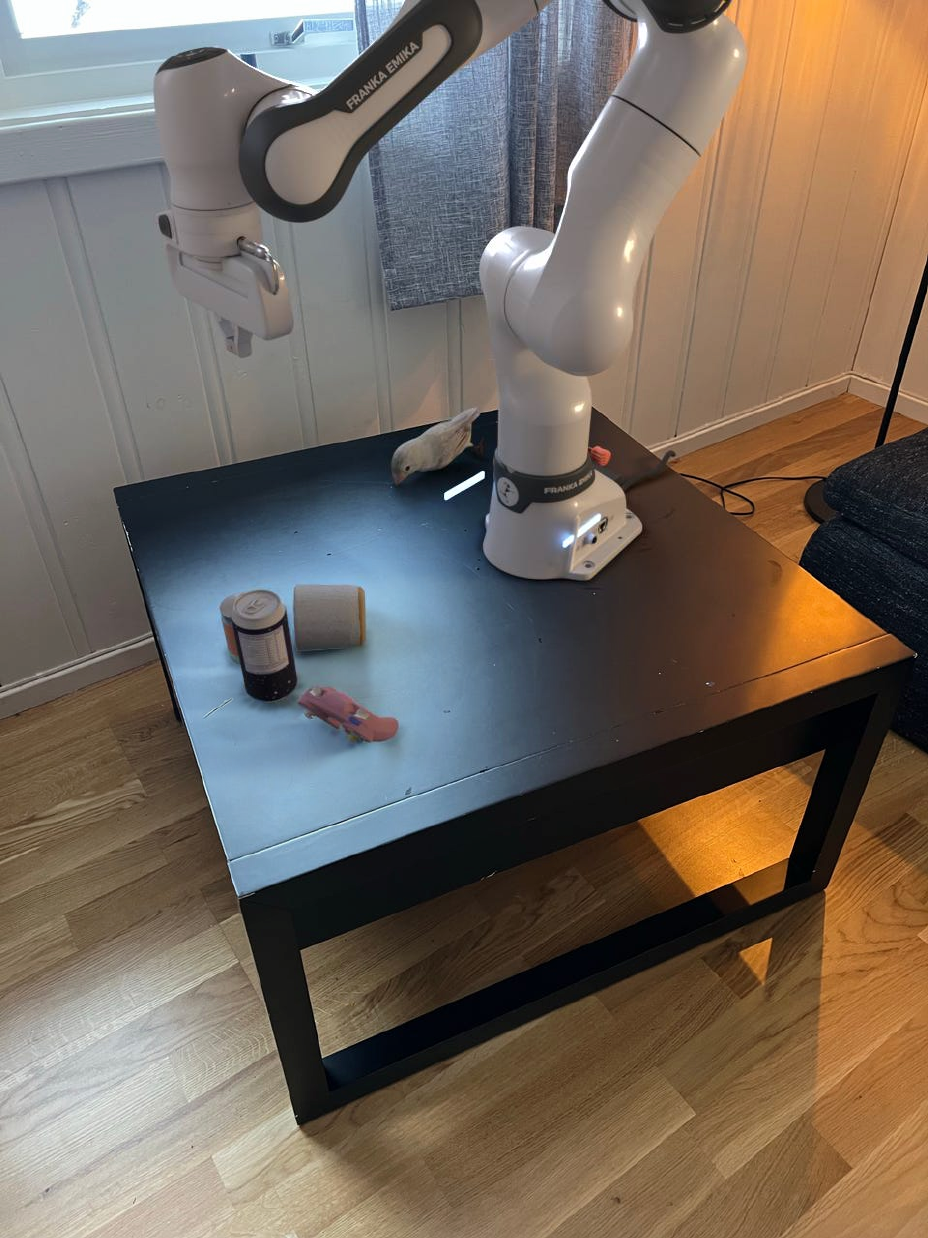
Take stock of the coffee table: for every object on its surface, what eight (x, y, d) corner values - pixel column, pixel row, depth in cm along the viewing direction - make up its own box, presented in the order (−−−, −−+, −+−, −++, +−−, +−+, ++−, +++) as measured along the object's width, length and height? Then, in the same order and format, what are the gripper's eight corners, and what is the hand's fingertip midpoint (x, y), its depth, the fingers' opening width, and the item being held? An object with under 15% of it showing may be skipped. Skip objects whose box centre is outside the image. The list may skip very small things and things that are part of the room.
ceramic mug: (369, 659, 106) (364, 605, 102) (297, 664, 106) (289, 611, 101) (366, 603, 115) (362, 552, 110) (299, 608, 114) (292, 556, 109)
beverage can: (308, 683, 103) (296, 597, 96) (275, 714, 100) (260, 627, 92) (269, 666, 106) (253, 581, 98) (235, 695, 102) (216, 609, 94)
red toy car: (310, 726, 100) (283, 701, 94) (333, 690, 102) (307, 663, 96) (383, 764, 96) (359, 740, 90) (405, 726, 98) (384, 700, 92)
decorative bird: (383, 478, 138) (380, 433, 133) (466, 445, 146) (466, 400, 141) (405, 493, 135) (402, 447, 130) (489, 458, 143) (489, 413, 138)
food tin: (256, 634, 110) (247, 586, 106) (278, 653, 107) (270, 605, 103) (221, 651, 108) (211, 604, 103) (243, 672, 105) (233, 624, 101)
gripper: (299, 244, 94) (314, 373, 103) (198, 202, 106) (218, 321, 114) (245, 258, 91) (265, 390, 99) (146, 213, 103) (172, 334, 111)
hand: (239, 353), depth 107 cm, fingers closed
